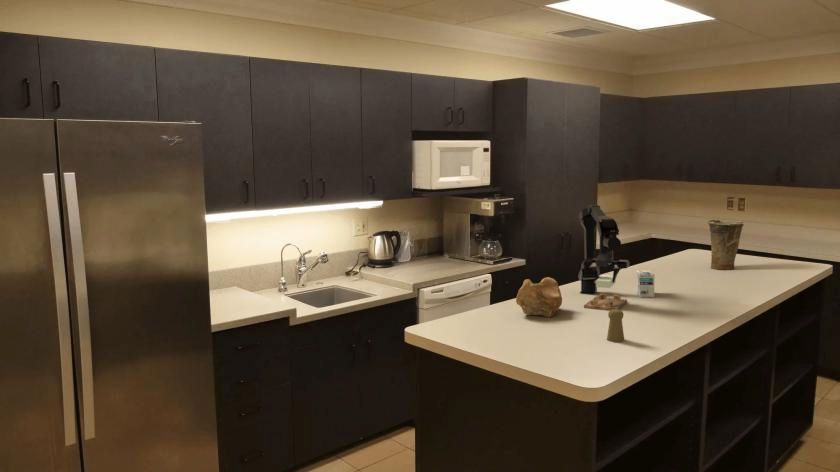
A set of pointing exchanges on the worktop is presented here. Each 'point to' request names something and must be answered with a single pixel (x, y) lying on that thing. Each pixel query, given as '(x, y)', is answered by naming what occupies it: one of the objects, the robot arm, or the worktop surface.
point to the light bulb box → (645, 283)
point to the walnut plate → (606, 302)
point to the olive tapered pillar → (615, 326)
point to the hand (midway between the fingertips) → (606, 282)
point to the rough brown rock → (540, 297)
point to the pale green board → (605, 281)
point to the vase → (724, 243)
